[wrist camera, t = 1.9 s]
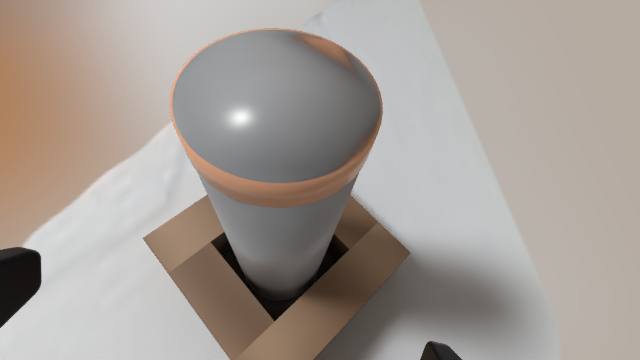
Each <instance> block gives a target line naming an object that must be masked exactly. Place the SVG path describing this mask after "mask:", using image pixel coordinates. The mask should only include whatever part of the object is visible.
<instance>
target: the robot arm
mask: <svg viewBox="0 0 640 360" xmlns="http://www.w3.org/2000/svg"><path fill="white" fill-rule="evenodd" d="M40 286H41V256H40V254H39V252H37V251H35V250H31V249H27V248H22V247H14V248H8V249H3V250H0V328H1V327H2V326H3V325H4V324H5V323H6V322H7V321H8V320H9V319H10V318H11V317H12V316H13V315H14V314H15V313H16V312H17V311H18V310H19V309H20V308H21V307H22V306H23V305H25V304H26V303H27V302H28V301H29V300H30V299H31V298H32V297H33V296H34V295H35V294H36V293H37V291H38V290H39V288H40ZM420 360H462V359H461V358H460V357H459V356H458V355H457V354H456V353H455V352H454V351H453V350H452V349H451V348H450V347H449V346H448V345H446V344H442V343H437V342H433V341H430V342H428V343H427V344H426V346H425V348H424V351H423V354H422V356H421V359H420Z"/></svg>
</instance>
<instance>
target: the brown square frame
mask: <svg viewBox="0 0 640 360" xmlns="http://www.w3.org/2000/svg"><path fill="white" fill-rule="evenodd" d="M143 239H144V241H145V242H146V244H147V245H148V246H149V248H150V249H151V250H152V252H153V253H154V255H155V256H156V257H157V259H158V260H159V262H160V263H161V264H162V266H163V267H164V269H165V270H166V271H167V273H168V274H169V275H170V277H171V278H172V280H173V281H174V282H175V284H176V285H177V287H178V288H179V289H180V291H181V292H182V293H183V295H184V296H185V298H186V299H187V300H188V302H189V303H190V305H191V306H192V307H193V309H194V310H195V312H196V313H197V314H198V316H199V317H200V318H201V320H202V321H203V323H204V324H205V325H206V327H207V328H208V330H209V331H210V332H211V334H212V335H213V336H214V338H215V339H216V341H217V342H218V343H219V345H220V346H221V348H222V349H223V350H224V352H225V353H226V355H227V356H228V357H229V359H230V360H314V358H315V357H316V356H317V355H318V354H319V353H320V352H321V351H322V350H323V349H324V347H325V346H326V345H327V344H328V343H329V342H330V341H331V340H332V339H333V338H334V336H335V335H336V334H337V333H338V332H339V331H340V330H341V329H342V328H343V327H344V326H345V324H346V323H347V322H348V321H349V320H350V319H351V318H352V317H353V316H354V315H355V313H356V312H357V311H358V310H359V309H360V308H361V307H362V306H363V305H364V304H365V302H366V301H367V300H368V299H369V298H370V297H371V296H372V295H373V294H374V293H375V292H376V290H377V289H378V288H379V287H380V286H381V285H382V284H383V283H384V282H385V281H386V279H387V278H388V277H389V276H390V275H391V274H392V273H393V272H394V271H395V270H396V269H397V267H398V266H399V265H400V264H401V263H402V262H403V261H404V260H405V259H406V258H407V256H408V255H409V254H410V252H409V251H408V250H407V249H406V248H405V247H404V246H403V245H402V244H401V243H400V242H399V241H398V240H397V239H396V238H395V237H393V236H392V235H391V234H390V233H389V232H388V231H387V230H386V229H385V228H384V227H383V226H382V225H381V224H380V223H379V222H378V221H377V220H376V219H374V218H373V217H372V216H371V215H370V214H369V213H368V212H367V211H366V210H365V209H364V208H363V207H362V206H361V205H360V204H359V203H358V202H357V201H355V200H354V199H353V198H352V197H351V196H350V195H349V198H348V200H347V203H346V205H345V207H344V210H343V212H342V215H341V217H340V219H339V222H338V224H337V227H336V229H335V231H334V234H333V236H332V239H331V241H330V243H329V246H328V248H327V250H328V251H329V252H330V253H331V254H332V255H333V257H334V258H335V259H336V260H337V262H336V263H335V264H334V265H333V266H332V267H331V268H330V269H329V270H328V271H327V272H326V273H325V274H324V275H323V276H322V277H321V278H320V279H318V280H317V281H316V282H315V283H314V284H313V285H312V286H311V287H310V288H309V289H308V290H307V291H306V292H305V293H304V294H303V295H302V296H301V297H300V298H299V299H298V300H297V301H296V302H295V303H294V304H292V305H291V306H290V307H289V308H288V309H287V310H286V311H285V312H284V313H283V314H282V315H281V316H280V317H279V318H278V319H277V320H276V321H274V320H273V319H272V318H271V316H270V315H269V314H268V313H267V311H266V310H265V309H264V308H263V307H262V305H261V304H260V303H259V302H258V300H257V299H256V298H255V297H254V295H253V294H252V293H251V292H250V290H249V289H248V288H247V287H246V285H245V284H244V283H243V282H242V280H241V279H240V278H239V277H238V276H237V274H236V273H235V272H234V271H233V269H232V268H231V267H230V266H229V264H228V263H227V262H226V261H225V259H224V258H223V257H222V256H223V255H225V254H226V253H227V252H229V251H230V250H231V249H232V247H231V245H230V243H229V240H228V238H227V236H226V234H225V232H224V229H223V227H222V225H221V223H220V221H219V218H218V216H217V214H216V212H215V210H214V207H213V205H212V203H211V201H210V199H209V196H208V195H206V196H205V197H203V198H202V199H200V200H199V201H197V202H196V203H194V204H193V205H191V206H190V207H188V208H187V209H185V210H184V211H183V212H181V213H180V214H178V215H177V216H175V217H174V218H172V219H171V220H169V221H168V222H166V223H165V224H163V225H162V226H160V227H159V228H157V229H156V230H154V231H153V232H151V233H150V234H148V235H147V236H145V237H144V238H143Z"/></svg>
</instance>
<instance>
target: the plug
mask: <svg viewBox="0 0 640 360" xmlns="http://www.w3.org/2000/svg"><path fill="white" fill-rule="evenodd" d="M170 113H171V118H172V121H173V125H174V128H175V130H176V132H177V134H178V136H179V138H180V141H181V143H182V145H183V147H184V149H185V151H186V153H187V156H188V158H189V159H190V161H191V163H192V165H193V167H194V168H195V169H196V171H197V172H198V174H199V177H200V179H201V181H202V183H203V185H204V188H205V190H206V192H207V194H208V196H209V199H210V201H211V203H212V205H213V207H214V210H215V212H216V214H217V216H218V218H219V221H220V223H221V225H222V227H223V229H224V232H225V234H226V236H227V238H228V240H229V243H230V245H231V247H232V249H233V251H234V254H235V256H236V258H237V260H238V263H239V265H240V267H241V269H242V271H243V274H244V276H245V278H246V280H247V282H248V284H249V285H250V287H251V288H252V289H253V290H254V291H255V292H256V293H257V294H259V295H260V296H262V297H264V298H267V299H270V300H275V301H284V300H289V299H293V298H295V297H297V296H299V295H301V294H302V293H304V292H305V291H306V290H307V289H308V288H309V287H310V286H311V284H312V283H313V281H314V279H315V277H316V275H317V272H318V270H319V268H320V265H321V263H322V260H323V258H324V256H325V253H326V251H327V248H328V246H329V243H330V241H331V239H332V236H333V234H334V231H335V229H336V227H337V224H338V222H339V219H340V217H341V215H342V212H343V210H344V207H345V205H346V203H347V200H348V198H349V195H350V193H351V190H352V188H353V186H354V183H355V181H356V178H357V176H358V174H359V171H360V170H361V169H362V167H363V165H364V163H365V161H366V160H367V157H368V155H369V153H370V150H371V148H372V146H373V143H374V141H375V139H376V136H377V134H378V131H379V128H380V125H381V120H382V114H383V111H382V99H381V94H380V91H379V88H378V86H377V83H376V82H375V80H374V78H373V76H372V75H371V73H370V72H369V70H368V69H367V68H366V67H365V66H364V65H363V63H362V62H361V61H360V60H359V59H357V58H356V57H355V56H354V55H353V54H352V53H350V52H349V51H347V50H346V49H344V48H343V47H341V46H339V45H338V44H336V43H334V42H332V41H330V40H327V39H325V38H323V37H320V36H317V35H314V34H311V33H306V32H302V31H297V30H290V29H278V28H271V29H270V28H269V29H266V28H265V29H254V30H248V31H243V32H239V33H235V34H232V35H228V36H226V37H223V38H221V39H218V40H216V41H214V42H212V43H210V44H208V45H207V46H205V47H204V48H202V49H201V50H199V51H198V52H197V53H196V54H195V55H193V56H192V57H191V58H190V59H189V60H188V62H187V63H186V64H185V65H184V66H183V67H182V69H181V70H180V72H179V73H178V75H177V77H176V79H175V81H174V83H173V87H172V91H171V94H170Z"/></svg>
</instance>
